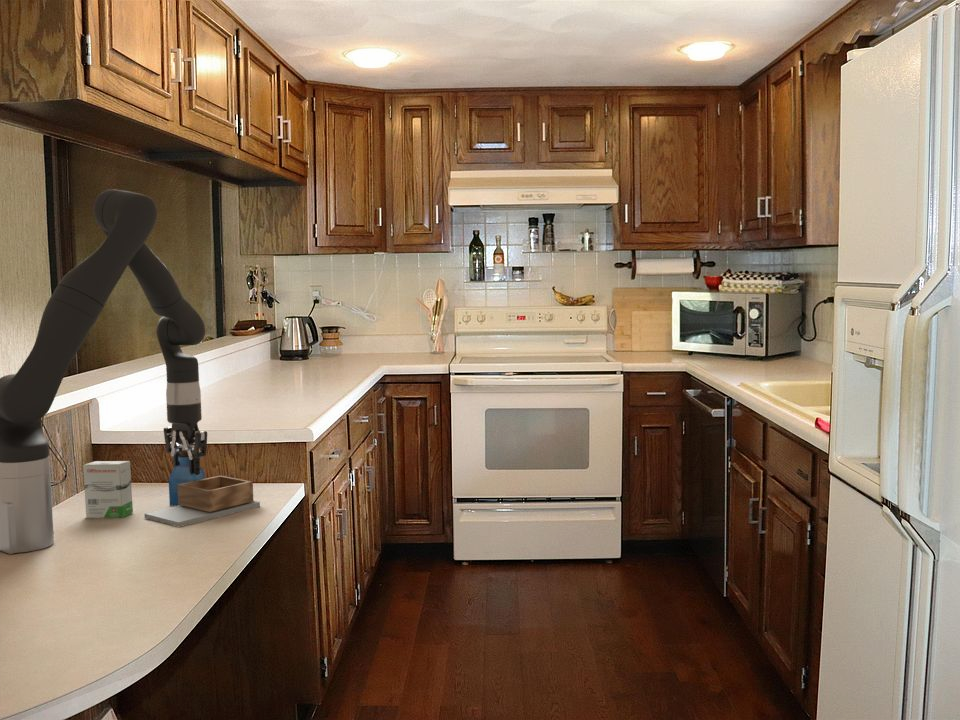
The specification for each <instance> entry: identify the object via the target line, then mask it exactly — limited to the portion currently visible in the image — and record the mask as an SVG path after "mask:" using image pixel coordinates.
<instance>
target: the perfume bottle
mask: <svg viewBox="0 0 960 720" xmlns="http://www.w3.org/2000/svg"><path fill="white" fill-rule="evenodd" d="M192 452H193V453H194V449H193V450H192ZM179 455H180V456H179V457H178V461H180V464H179V465H178V466H176V467H175V468H174V467H173V469H172V472H171V474H170V475H169V478H168V494H169V495H168V497H169V498H168V499H169V506H179V505H178V487H177V485H178V484H183V483H188V482H192V481H197V480H202V479H206V473H205V471H204V470H203V468H202V467H201V466H200V474H199V475H196V474H195V473H193V474H192V475H191V474H190V467H189V460H190V458H189V455H188V452H187V451H186V450H185V449H184V450H181V451H179Z"/></svg>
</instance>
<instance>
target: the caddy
mask: <svg viewBox="0 0 960 720" xmlns="http://www.w3.org/2000/svg"><path fill="white" fill-rule="evenodd" d="M252 483H253V481H251V480H246V479H242V478H236V477H232V476H231V477H230V476H226V475H217V476H212V477H208V478H205V479H202V480H197V481H192V482H188V483H183V484H178V485H177V487H178V505H177V506H179V505H182V506H187V507H191V508H195V509H199V510H204V511H208V512H211V511H215V510H219V509H224V508H228V507H232V506H236V505H240V504H244V503H248V502H252V501H254V486H253V487H252Z"/></svg>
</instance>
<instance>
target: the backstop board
mask: <svg viewBox="0 0 960 720" xmlns="http://www.w3.org/2000/svg"><path fill="white" fill-rule="evenodd" d="M252 487H253V488H254V484H253V482H252ZM258 507H261V502H260V501H257V500H253V501H252V502H248V503H244V504H240V505H236V506H232V507H228V508H224V509H219V510H215V511H211V512H208V511H204V510H199V509H195V508H191V507H187V506H182V505H174V506H172V507H171V506H170V507H166V508H162V509H159V510H154V511H149V512H146V513H144V519H146V518H148V519H147V520H150V519H152V520H151V521H154V520H156V521H155V522H158V521H160V522H159V523H161V522H164V523H163V524H165V523H168V524H167V525H169V524H171V525H170V526H173V525H175V526H174V527H177V526H181V527H183V526H182V525H185V526H187V525H186V524H189V525H192V524H196V523H201V522H204V521H208V520H212V519H215V518H219V517H223V516H227V515H232V514H235V513H238V512H243V511H246V510H251V509H254V508H258Z"/></svg>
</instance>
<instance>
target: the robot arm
mask: <svg viewBox="0 0 960 720" xmlns="http://www.w3.org/2000/svg"><path fill="white" fill-rule="evenodd" d="M157 208H158V207H157V205H156V203H155V201H154V200H153V199H152V198H151V197H149V196H148V195H145V194H143V193H139V192H138V193H137V192H135V191H134V192H133V191H128V190H124V189H123V190H122V189H117V188H116V189H111V188H110V189H106V190H103V191H102V192H100V194H98V195H97V197H96V198H95V201H94V204H93V215H94V218H95V221H96V223H97V225H98V226H99V228H100V230H102V232H103V233H104V235H105V236H106V237H105V240H104V241H103V242H102V243H101V245H100V246H99V247H98V248H97V249H95V251H94V252H93V253H91V254H90V255H88V256H87V257H86V258H85V259H83V260H82V261H81V262H80V263H78V264H77V265H76V266H74V267H73V268H71V270H69V271H67V273H66V274H65V275H64V276H63V277H62V279H60V281H59V283H58V284H57V286H56V288H55V289H54V291H53V293H52V295H51V296H50V297H49V299H48V301H47V303H46V305H45V307H44V310H43V313H42V315H41V319H40V322H39V326H38V331H37V335H36V338H35V342H34V345H33V347H32V348H31V350H30V352H29V354H28V356H27V358H26V359H25V361H24V362H23V363H22V365H21V366H20V368H19V369H18V370H17V372H16V373H13V374H7V375H3V376H1V377H0V551H1V552H3V553H7V554H9V555H13V554H16V553H26V552H27V553H28V552H34V551H39V550H43V549H47V548H48V547H50V546H52V545H54V543H55V536H54V535H55V531H54V520H53V519H54V518H53V497H52V496H53V495H52V481H51V462H50V460H51V459H50V447H49V446H50V445H49V442H48V440H47V438H46V436H45V434H44V430H43V423H42V419H43V418H44V417H45V415H47V413H48V412H49V410H50V409H51V407H52V405H53V402H54V400H55V398H56V395H57V393H58V390H59V389H60V386H61V383H62V381H63V380H64V377H65V374H66V373H67V371H68V368H69V366H70V365H71V363H72V361H73V359H74V357H75V356H76V355H77V353H78V352H79V349H80V348H81V347H82V345H83V343H84V341H85V340H86V338H87V337H88V335H89V333H90V331H91V329H92V328H93V327H94V325H95V323H96V322H97V320H98V318H99V316H100V314H101V313H102V311H103V309H104V307H105V305H106V304H107V301H108V299H109V298H110V296H111V295H112V294H111V293H112V292H113V291H114V289H115V287H116V285H117V284H118V282H119V281H120V279H121V278H122V276H123V274H124V272H125V271H126V269H127V268H129V270H131V272H132V274H133V275H134V276H135V279H136V280H137V282H138V284H139V286H140V288H141V290H142V291H143V294H144V296H145V298H146V300H147V301H148V303H149V305H150V307H151V309H152V310H153V312H154V313H155V314H156V316H157V315H158V316H160V318H159V320H158V322H157V324H156V337H157V341H158V344H159V347H160V350H161V354H162V357H163V359H164V362H165V367H166V368H165V369H166V390H165V391H166V392H165V394H166V395H165V399H166V421H167V423H169V424H171V426H168V427H164V428H163V437H164V444H165V449H166V453H167V454H170V456H171V457H172V459H173V460H172V462H173V463H172V464H173V469H174V468H175V467H176V466H178V465H179V464H180V461H178V457H179V456H180V455H179V451H181V450H186V451H187V452H188V455H189V458H190V460H189V467H190V474H191V475H192V474H193V473H195V474H196V475H199V474H200V467H201V463H200V461H201V458H203V457H206V456H207V446H208V445H207V443H208V432H207V431H206V430H205V431H201V430H199V429H200V428H199V425H198V423H199V422H200V421H202V420H203V419H202V394H201V393H202V392H201V387H200V376H199V375H200V373H199V361H198V359H197V357H195V356H193V355H189V354H186V353H185V352H184V351H183V350H182V348H181V346H196V345H198V344H200V343H201V342H203V341H204V338H205V336H206V326H205V323H204V320H203V318H202V316H201V315H200V314H199V313H198V311H196V309H195V308H194V307H193V306H192V305H191V304H190V303H189V301H188V300H186V298H184V296H183V294H182V291H181V290H180V288H179V286H178V284H177V282H176V279H175V278H174V276H173V274H172V273H171V271H170V269H169V268H168V267H167V266H166V265H165V264H164V262H163V261H162V260H161V259H160V258H159V257H158V256H157V255H156V254H155V253H154V252H153V250H152V249H151V248H150V247H149V246H148V245H147V243H146V240H147V239H148V238H149V237H150V235H151V233H152V232H153V230H154V228H155V225H156V223H157V217H158V209H157ZM200 448H201V449H200ZM192 450H193V452H192Z"/></svg>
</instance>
